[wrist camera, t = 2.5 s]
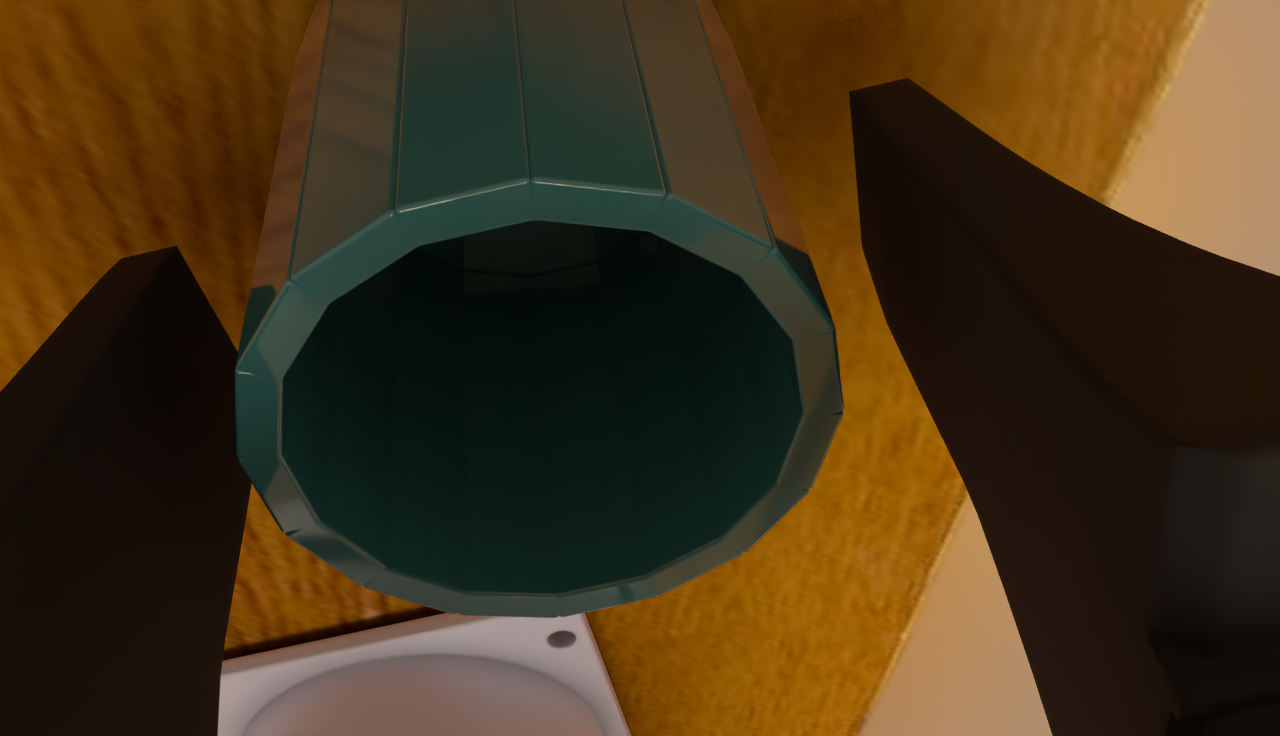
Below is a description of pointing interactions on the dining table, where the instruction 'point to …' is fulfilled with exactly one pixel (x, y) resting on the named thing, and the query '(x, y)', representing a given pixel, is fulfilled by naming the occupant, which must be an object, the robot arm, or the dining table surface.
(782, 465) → the cup
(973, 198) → the robot arm
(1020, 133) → the dining table surface
